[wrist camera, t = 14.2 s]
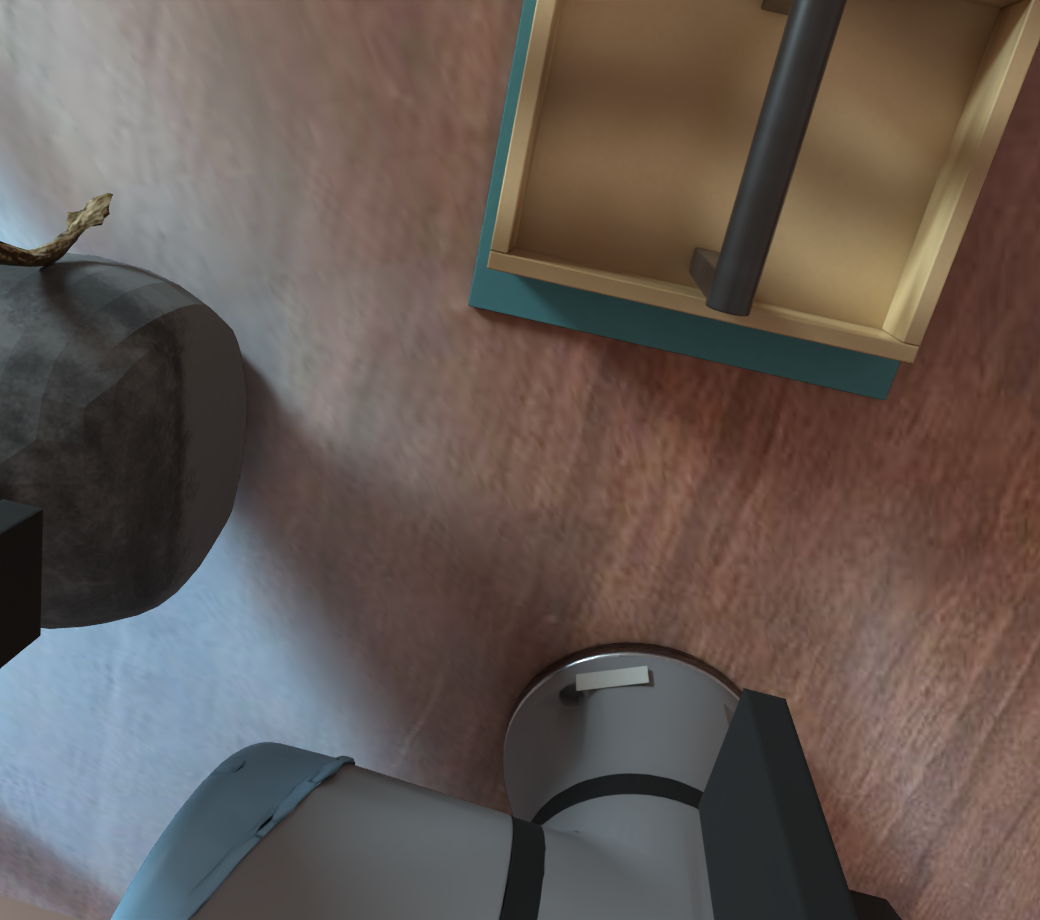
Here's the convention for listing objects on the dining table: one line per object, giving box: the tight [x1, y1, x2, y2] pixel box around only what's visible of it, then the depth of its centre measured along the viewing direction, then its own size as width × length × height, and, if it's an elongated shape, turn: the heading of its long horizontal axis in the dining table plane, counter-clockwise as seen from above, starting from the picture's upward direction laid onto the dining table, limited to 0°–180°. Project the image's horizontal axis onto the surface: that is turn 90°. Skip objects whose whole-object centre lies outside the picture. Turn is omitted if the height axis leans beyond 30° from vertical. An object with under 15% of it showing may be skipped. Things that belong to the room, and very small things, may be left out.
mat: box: [468, 0, 900, 400], centre depth 37 cm, size 20×21×1 cm
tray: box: [487, 0, 1040, 364], centre depth 31 cm, size 15×19×11 cm
